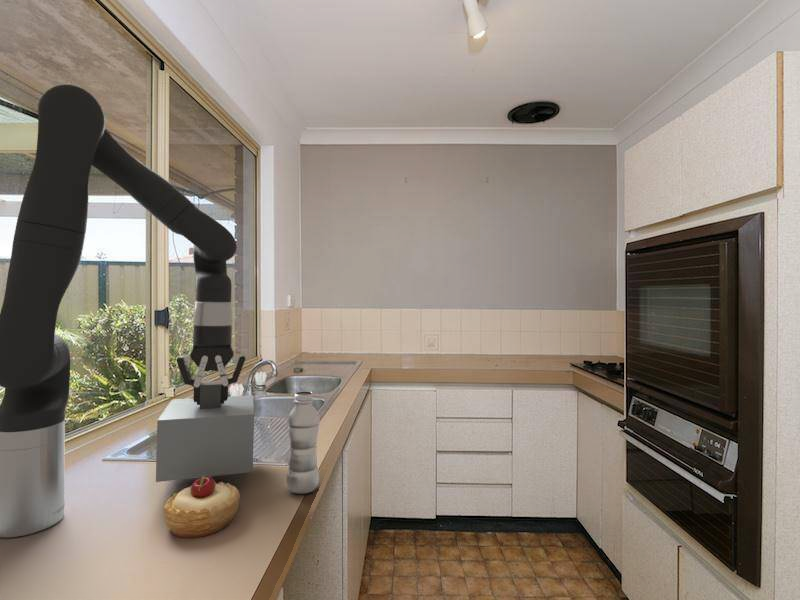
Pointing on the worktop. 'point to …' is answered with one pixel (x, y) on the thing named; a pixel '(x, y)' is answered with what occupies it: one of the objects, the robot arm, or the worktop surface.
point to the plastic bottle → (303, 445)
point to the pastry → (201, 508)
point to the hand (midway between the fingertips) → (211, 403)
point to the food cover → (205, 436)
